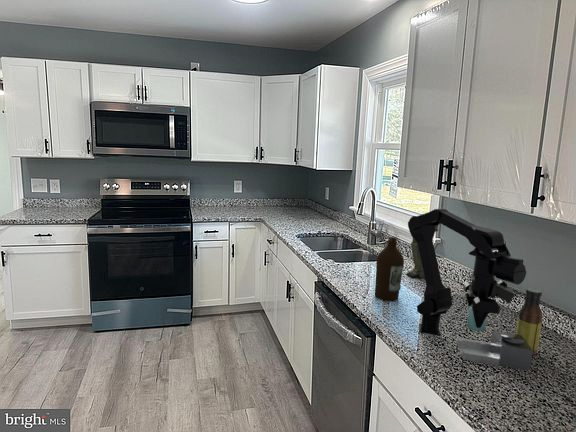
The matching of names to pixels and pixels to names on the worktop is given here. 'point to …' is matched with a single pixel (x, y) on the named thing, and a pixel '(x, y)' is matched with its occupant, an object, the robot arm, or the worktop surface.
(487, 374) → the worktop surface
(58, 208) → the worktop surface
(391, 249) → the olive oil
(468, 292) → the robot arm
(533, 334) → the sauce bottle
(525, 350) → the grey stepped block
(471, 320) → the teal bottle with cap
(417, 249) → the mechanical leg
